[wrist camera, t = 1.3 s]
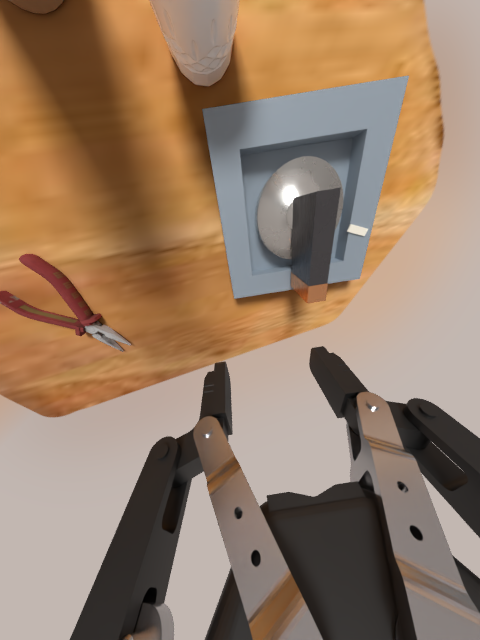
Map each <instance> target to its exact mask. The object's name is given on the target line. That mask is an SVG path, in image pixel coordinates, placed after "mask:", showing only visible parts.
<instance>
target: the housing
mask: <svg viewBox="0 0 480 640" xmlns="http://www.w3.org/2000/svg"><path fill="white" fill-rule="evenodd" d="M408 77H409V76H403V77H397V78H391V79H385V80H379V81H372V82H366V83H360V84H354V85H348V86H342V87H335V88H329V89H323V90H317V91H311V92H305V93H298V94H292V95H286V96H280V97H274V98H268V99H262V100H255V101H249V102H243V103H237V104H231V105H225V106H218V107H212V108H206V109H202V111H203V117H204V123H205V128H206V134H207V140H208V146H209V152H210V158H211V164H212V170H213V176H214V182H215V188H216V194H217V199H218V205H219V211H220V217H221V223H222V229H223V235H224V241H225V247H226V253H227V259H228V265H229V270H230V276H231V282H232V288H233V294H234V299H236V298H242V297H248V296H255V295H261V294H267V293H273V292H280V291H286V290H292V289H293V288H292V287H291V265H292V259H285V258H282V257H279V256H277V255H275V254H274V253H272V252H271V251H270V250H268V249H267V248H266V247H265V246H264V244H263V243H262V242H261V240H260V238H259V236H258V233H257V230H256V225H255V208H256V203H257V200H258V197H259V194H260V192H261V190H262V188H263V186H264V184H265V183H266V182H267V180H268V179H269V178H270V177H271V176H272V174H273V173H275V172H276V171H277V170H278V169H279V168H280V167H281V166H283V165H284V164H286V163H287V162H289V161H291V160H293V159H295V158H299V157H303V156H313V157H318V158H321V159H323V160H325V161H327V162H328V163H329V164H330V165H331V166H332V167H333V168H334V169H335V171H336V172H337V174H338V176H339V178H340V180H341V184H342V188H343V209H342V214H341V217H340V220H339V223H338V225H337V227H336V229H335V233H334V240H333V247H332V254H331V261H330V269H329V276H328V284H330V283H336V282H342V281H348V280H355V279H360V275H361V271H362V267H363V263H364V259H365V255H366V251H367V246H368V242H369V238H370V234H371V230H372V226H373V222H374V218H375V213H376V209H377V205H378V201H379V197H380V193H381V189H382V185H383V180H384V176H385V172H386V168H387V164H388V160H389V156H390V152H391V147H392V143H393V139H394V135H395V131H396V127H397V123H398V119H399V115H400V110H401V106H402V102H403V98H404V94H405V90H406V86H407V82H408Z"/></svg>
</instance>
